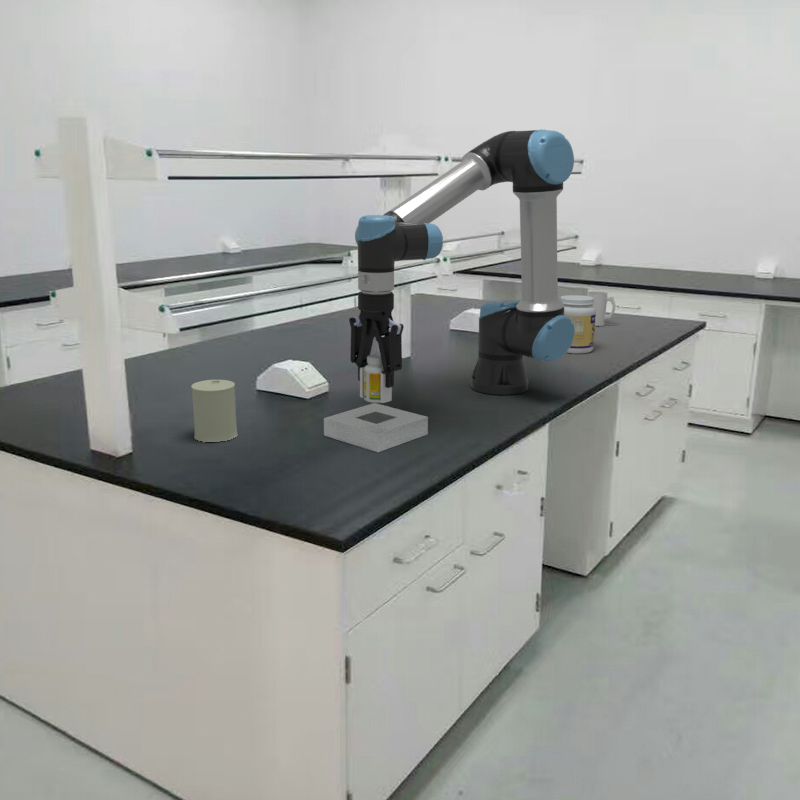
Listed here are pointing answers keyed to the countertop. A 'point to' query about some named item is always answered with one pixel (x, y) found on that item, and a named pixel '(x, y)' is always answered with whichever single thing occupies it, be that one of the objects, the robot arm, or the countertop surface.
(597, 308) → the mug
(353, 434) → the block with square hole
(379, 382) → the supplement bottle
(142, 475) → the countertop surface
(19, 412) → the countertop surface
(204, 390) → the can
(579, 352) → the supplement tub
